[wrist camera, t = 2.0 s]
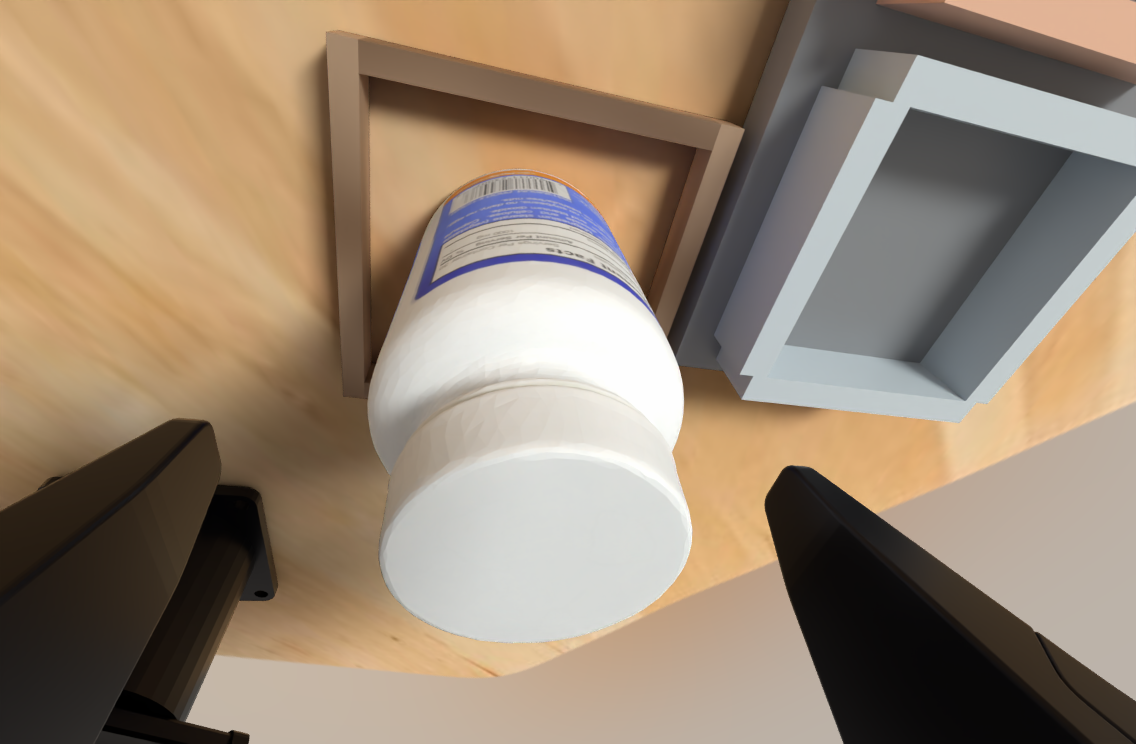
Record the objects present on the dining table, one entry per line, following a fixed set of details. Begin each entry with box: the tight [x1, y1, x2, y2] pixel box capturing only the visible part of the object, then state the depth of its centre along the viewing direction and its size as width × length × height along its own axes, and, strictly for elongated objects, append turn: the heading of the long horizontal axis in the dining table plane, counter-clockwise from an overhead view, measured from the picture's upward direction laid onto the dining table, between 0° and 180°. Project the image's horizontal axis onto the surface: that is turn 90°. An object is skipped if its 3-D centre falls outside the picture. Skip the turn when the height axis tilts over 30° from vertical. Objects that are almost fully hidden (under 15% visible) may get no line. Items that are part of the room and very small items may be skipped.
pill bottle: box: [367, 169, 692, 643], centre depth 10 cm, size 5×5×10 cm
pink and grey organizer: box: [667, 0, 1136, 423], centre depth 11 cm, size 18×10×3 cm, turn 168°
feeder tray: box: [326, 30, 745, 399], centre depth 14 cm, size 9×9×1 cm
